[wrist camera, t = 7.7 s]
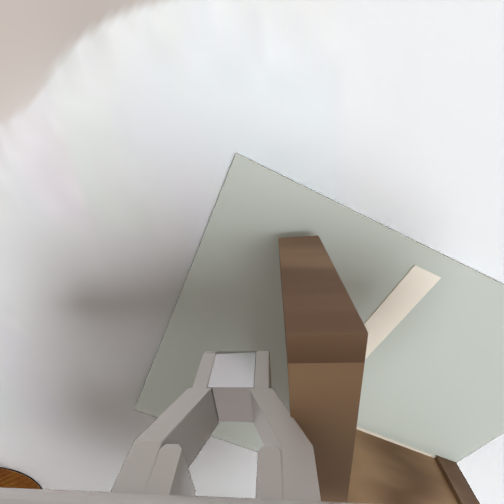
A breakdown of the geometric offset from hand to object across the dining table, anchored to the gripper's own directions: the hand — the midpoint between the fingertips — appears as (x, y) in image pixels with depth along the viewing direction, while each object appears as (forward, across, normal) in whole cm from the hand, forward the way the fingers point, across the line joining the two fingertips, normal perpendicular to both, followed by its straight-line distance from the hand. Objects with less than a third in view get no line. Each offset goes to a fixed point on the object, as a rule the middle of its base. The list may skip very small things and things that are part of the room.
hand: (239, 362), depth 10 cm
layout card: (+5, +6, -7) cm, 10 cm away
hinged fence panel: (+3, +3, -2) cm, 5 cm away
